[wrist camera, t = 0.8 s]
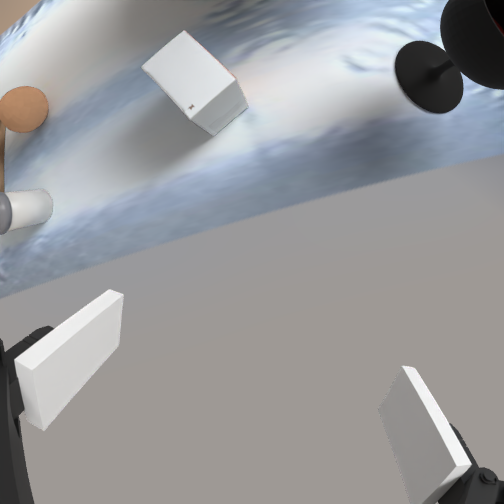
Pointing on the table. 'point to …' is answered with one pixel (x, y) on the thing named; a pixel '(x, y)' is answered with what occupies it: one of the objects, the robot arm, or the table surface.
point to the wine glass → (455, 55)
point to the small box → (197, 83)
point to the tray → (2, 155)
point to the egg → (23, 109)
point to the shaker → (24, 209)
